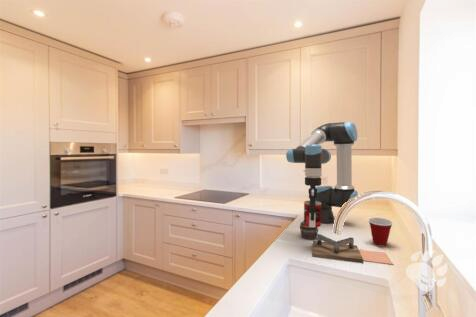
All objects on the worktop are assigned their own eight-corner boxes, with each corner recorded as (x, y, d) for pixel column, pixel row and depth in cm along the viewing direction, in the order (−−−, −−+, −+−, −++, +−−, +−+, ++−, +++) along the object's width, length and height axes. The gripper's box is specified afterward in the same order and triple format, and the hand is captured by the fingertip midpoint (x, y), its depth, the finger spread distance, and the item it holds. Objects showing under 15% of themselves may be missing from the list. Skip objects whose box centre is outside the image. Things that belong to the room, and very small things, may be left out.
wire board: (312, 243, 122) (312, 231, 122) (356, 248, 116) (356, 236, 116) (312, 256, 106) (312, 243, 106) (363, 263, 100) (363, 248, 100)
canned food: (307, 221, 122) (308, 199, 122) (323, 224, 117) (323, 201, 116) (301, 225, 116) (301, 202, 116) (317, 228, 111) (317, 204, 110)
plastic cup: (366, 245, 120) (366, 221, 120) (368, 238, 129) (369, 216, 129) (392, 250, 114) (392, 224, 114) (392, 243, 123) (393, 219, 123)
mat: (358, 250, 114) (358, 249, 114) (385, 253, 110) (385, 252, 110) (363, 261, 102) (363, 260, 102) (393, 265, 99) (393, 264, 99)
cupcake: (300, 239, 127) (300, 220, 127) (299, 233, 136) (299, 216, 136) (319, 241, 125) (320, 221, 125) (316, 234, 135) (317, 217, 135)
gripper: (305, 174, 127) (305, 218, 127) (303, 178, 107) (303, 230, 108) (321, 175, 124) (320, 219, 125) (321, 179, 105) (321, 232, 105)
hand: (312, 224), depth 116 cm, fingers closed on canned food, 8 cm apart
